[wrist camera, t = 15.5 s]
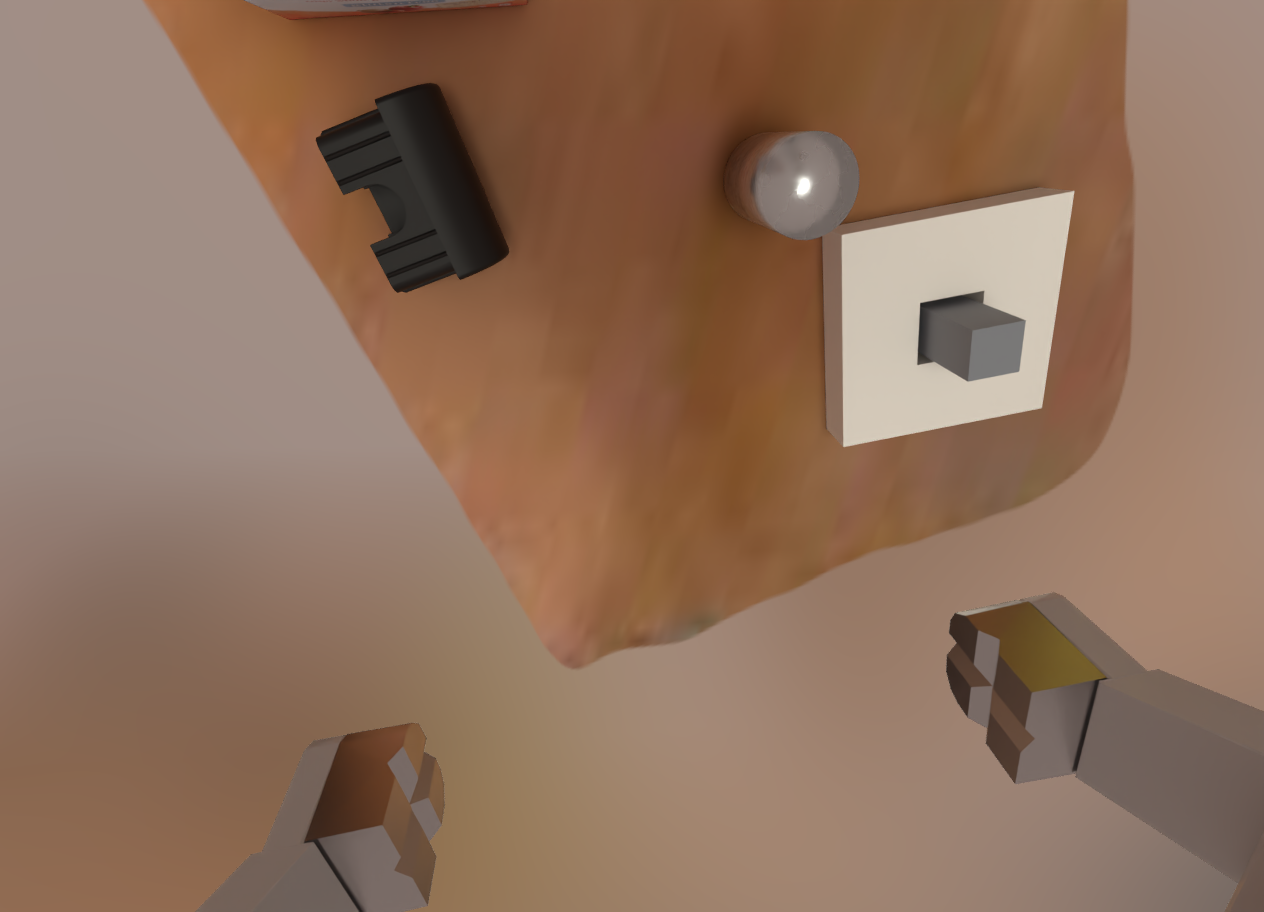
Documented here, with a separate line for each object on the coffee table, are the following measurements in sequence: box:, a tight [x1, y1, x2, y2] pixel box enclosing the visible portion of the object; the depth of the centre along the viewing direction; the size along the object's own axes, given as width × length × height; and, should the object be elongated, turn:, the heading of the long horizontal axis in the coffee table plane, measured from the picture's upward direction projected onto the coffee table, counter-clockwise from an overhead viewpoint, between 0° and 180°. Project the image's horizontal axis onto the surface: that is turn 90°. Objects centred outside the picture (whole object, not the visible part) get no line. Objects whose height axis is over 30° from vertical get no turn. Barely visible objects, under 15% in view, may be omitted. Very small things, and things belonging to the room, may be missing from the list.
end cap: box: [316, 83, 509, 293], centre depth 38 cm, size 10×7×7 cm
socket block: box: [822, 187, 1074, 447], centre depth 47 cm, size 16×16×4 cm
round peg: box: [723, 131, 859, 240], centre depth 39 cm, size 6×6×9 cm
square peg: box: [918, 295, 1026, 382], centre depth 45 cm, size 4×4×9 cm
